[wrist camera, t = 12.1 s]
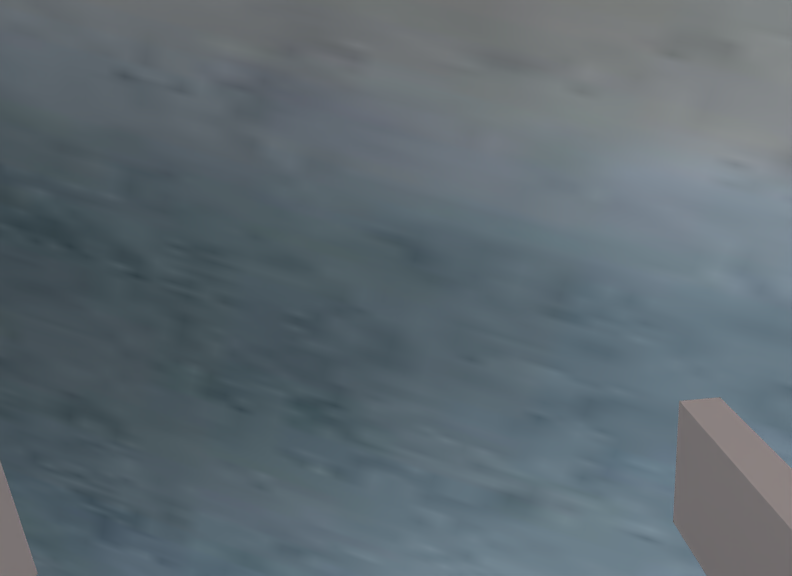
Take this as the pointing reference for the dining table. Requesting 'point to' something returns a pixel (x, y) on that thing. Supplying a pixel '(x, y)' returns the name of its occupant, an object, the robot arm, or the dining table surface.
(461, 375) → the dining table surface
